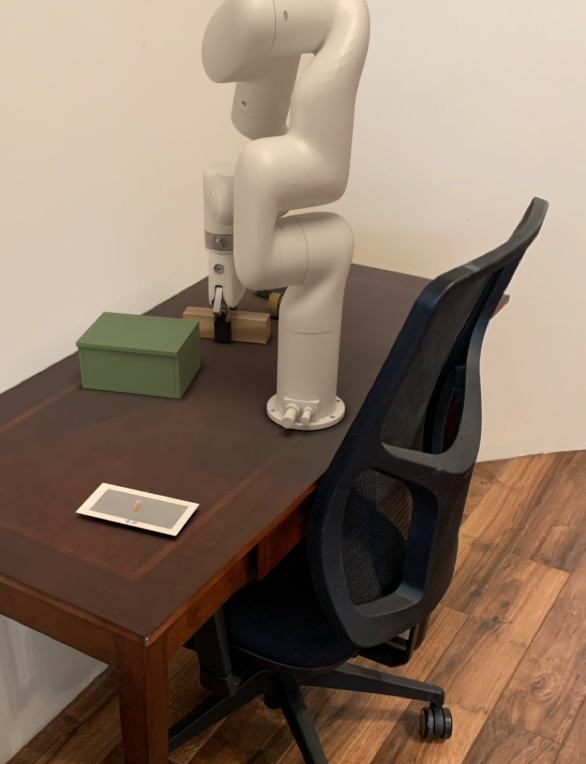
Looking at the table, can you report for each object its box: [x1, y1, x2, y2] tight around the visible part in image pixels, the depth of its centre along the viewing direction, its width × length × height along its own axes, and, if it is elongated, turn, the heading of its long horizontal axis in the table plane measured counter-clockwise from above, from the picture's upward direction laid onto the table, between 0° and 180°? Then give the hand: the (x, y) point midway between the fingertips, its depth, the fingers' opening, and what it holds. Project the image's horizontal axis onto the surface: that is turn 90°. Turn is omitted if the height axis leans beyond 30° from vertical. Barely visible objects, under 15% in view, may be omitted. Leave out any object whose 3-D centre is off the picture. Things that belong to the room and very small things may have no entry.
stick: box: [182, 306, 271, 345], centre depth 169 cm, size 4×16×4 cm, turn 75°
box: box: [77, 326, 202, 400], centre depth 155 cm, size 13×18×8 cm
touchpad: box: [75, 482, 200, 537], centre depth 123 cm, size 8×15×2 cm, turn 67°
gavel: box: [266, 292, 283, 318], centre depth 181 cm, size 21×5×10 cm
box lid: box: [75, 311, 199, 357], centre depth 152 cm, size 13×18×1 cm
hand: (226, 334), depth 170 cm, fingers open, 4 cm apart
